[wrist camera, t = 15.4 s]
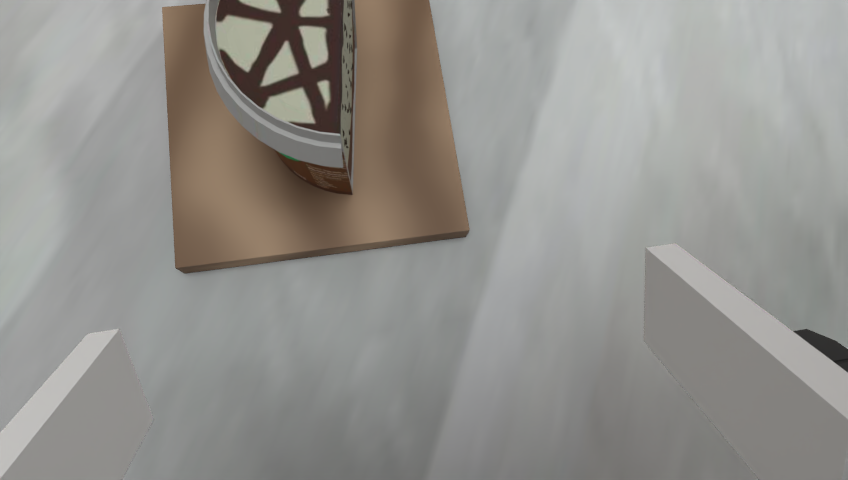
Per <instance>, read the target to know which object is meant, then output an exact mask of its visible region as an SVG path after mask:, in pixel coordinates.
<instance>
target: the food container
mask: <svg viewBox="0 0 848 480" xmlns="http://www.w3.org/2000/svg"><path fill="white" fill-rule="evenodd" d="M204 39H205V47H206V54H207V59H208V65H209V71H210V74H211V77H212V79H213V82H214V85H215V87H216V90H217V92H218V94H219V96H220V97H221V99H222V101H223V102H224V104H225V106H226V107H227V109H228V110H229V111H230V113H231V114H232V115H233V116H234V117H235V118H236V120H237V121H238V122H239V123H240V124H241V126H243V127H244V128H245V129H246V130H247V131H249V132H250V133H251V134H252V135H253V136H255V137H256V138H257V139H258V140H260V141H261V142H263V143H265V144H266V145H268V146H270V147H271V148H273V149H274V150H275V152H276V153H277V155H278V156H279V157H280V159H281V160H282V162H283V163H284V164H285V165H286V166H287V167H288V168H289V169H290V171H292V172H293V173H294V174H295V175H297V176H298V177H299V178H300V179H302V180H303V181H305V182H307V183H309V184H310V185H312V186H315V187H317V188H320V189H322V190H325V191H329V192H333V193H337V194H348V195H353V171H354V137H355V103H356V69H357V36H356V18H355V0H206V5H205V10H204Z"/></svg>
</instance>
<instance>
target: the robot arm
mask: <svg viewBox="0 0 848 480" xmlns="http://www.w3.org/2000/svg"><path fill="white" fill-rule="evenodd" d="M644 342H645V343H646V345H647V346H648V347H649V348H650V349H651V351H652V352H653V353H654V354H655V355H656V357H657V358H658V359H659V360H660V361H661V363H662V364H663V365H664V366H665V367H666V369H667V370H668V371H669V372H670V373H671V375H672V376H673V377H674V378H675V379H676V381H677V382H678V383H679V384H680V385H681V386H682V388H683V389H684V390H685V391H686V392H687V394H688V395H689V396H690V397H691V398H692V400H693V401H694V402H695V403H696V404H697V406H698V407H699V408H700V409H701V410H702V412H703V413H704V414H705V415H706V416H707V418H708V419H709V420H710V421H711V422H712V424H713V425H714V426H715V427H716V428H717V430H718V431H719V432H720V433H721V434H722V436H723V437H724V438H725V439H726V440H727V442H728V443H729V444H730V445H731V446H732V448H733V449H734V450H735V451H736V452H737V454H738V455H739V456H740V457H741V458H742V460H743V461H744V462H745V463H746V464H747V466H748V467H749V468H750V469H751V470H752V471H753V473H754V474H755V475H756V476H757V477H758V479H759V480H848V349H846V348H845V347H844V346H842V345H841V344H839V343H838V342H836V341H834V340H832V339H830V338H827V337H825V336H822V335H820V334H817V333H815V332H813V331H810V330H808V329H804V330H798V331H792V330H790V329H789V328H788V327H786V326H785V325H784V324H782V323H781V322H780V321H778V320H777V319H776V318H774V317H773V316H772V315H770V314H769V313H768V312H766V311H765V310H764V309H762V308H761V307H760V306H758V305H757V304H756V303H754V302H753V301H752V300H750V299H749V298H748V297H746V296H745V295H744V294H742V293H741V292H740V291H738V290H737V289H736V288H734V287H733V286H732V285H730V284H729V283H728V282H727V281H725V280H724V279H723V278H721V277H720V276H719V275H717V274H716V273H715V272H713V271H712V270H711V269H709V268H708V267H707V266H705V265H704V264H703V263H701V262H700V261H699V260H697V259H696V258H695V257H693V256H692V255H691V254H689V253H688V252H687V251H685V250H684V249H683V248H681V247H680V246H679V245H677V244H676V243H672V244H666V245H659V246H653V247H646V253H645V299H644ZM153 421H154V418H153V415H152V413H151V410H150V407H149V405H148V402H147V400H146V397H145V394H144V392H143V389H142V386H141V384H140V381H139V379H138V376H137V373H136V371H135V368H134V365H133V363H132V360H131V358H130V355H129V352H128V350H127V347H126V344H125V342H124V339H123V337H122V334H121V331H120V329H115V330H109V331H102V332H96V333H89V334H87V335H86V336H85V337H84V339H83V340H82V341H81V342H80V343H79V344H78V345H77V347H76V348H75V349H74V350H73V351H72V352H71V353H70V354H69V356H68V357H67V358H66V359H65V360H64V361H63V362H62V364H61V365H60V366H59V367H58V368H57V369H56V370H55V371H54V373H53V374H52V375H51V376H50V377H49V378H48V379H47V380H46V382H45V383H44V384H43V385H42V386H41V387H40V388H39V390H38V391H37V392H36V393H35V394H34V395H33V396H32V397H31V399H30V400H29V401H28V402H27V403H26V404H25V405H24V407H23V408H22V409H21V410H20V411H19V412H18V413H17V414H16V416H15V417H14V418H13V419H12V420H11V421H10V422H9V424H8V425H7V426H6V427H5V428H4V429H3V430H2V431H1V433H0V480H122V479H123V477H124V475H125V473H126V471H127V469H128V467H129V466H130V464H131V462H132V460H133V458H134V456H135V454H136V452H137V451H138V449H139V447H140V445H141V443H142V441H143V439H144V437H145V436H146V434H147V432H148V430H149V428H150V426H151V424H152V422H153Z"/></svg>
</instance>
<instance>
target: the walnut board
mask: <svg viewBox="0 0 848 480" xmlns="http://www.w3.org/2000/svg"><path fill="white" fill-rule="evenodd" d="M205 5H206V4H196V5H184V6H172V7H162V13H163V33H164V53H165V72H166V92H167V112H168V131H169V151H170V170H171V190H172V210H173V229H174V249H175V268H176V269H178V270H180V271H181V272H183V273H192V272H199V271H207V270H215V269H222V268H230V267H238V266H245V265H253V264H261V263H268V262H276V261H284V260H291V259H299V258H307V257H314V256H322V255H330V254H337V253H345V252H353V251H360V250H368V249H376V248H383V247H391V246H398V245H406V244H414V243H421V242H429V241H437V240H444V239H452V238H460V237H466V235H467V234H468V232H469V224H468V218H467V213H466V207H465V201H464V196H463V190H462V184H461V179H460V173H459V167H458V162H457V156H456V150H455V145H454V139H453V133H452V128H451V122H450V116H449V111H448V105H447V99H446V94H445V88H444V82H443V77H442V71H441V65H440V60H439V54H438V48H437V43H436V37H435V31H434V26H433V20H432V14H431V9H430V3H429V0H355V18H356V36H357V69H356V103H355V137H354V171H353V195H348V194H337V193H333V192H329V191H325V190H322V189H320V188H317V187H315V186H312V185H310V184H309V183H307V182H305V181H303V180H302V179H300V178H299V177H298V176H297V175H295V174H294V173H293V172H292V171H290V169H289V168H288V167H287V166H286V165H285V164H284V163H283V162H282V160H281V159H280V157H279V156H278V155H277V153H276V152H275V150H274V149H273V148H271V147H270V146H268V145H266V144H265V143H263V142H261V141H260V140H258V139H257V138H256V137H255V136H253V135H252V134H251V133H250V132H249V131H247V130H246V129H245V128H244V127H243V126H241V124H240V123H239V122H238V121H237V120H236V118H235V117H234V116H233V115H232V114H231V113H230V111H229V110H228V109H227V107H226V106H225V104H224V102H223V101H222V99H221V97H220V96H219V94H218V92H217V90H216V87H215V85H214V82H213V79H212V77H211V74H210V71H209V65H208V59H207V54H206V47H205V39H204V10H205Z"/></svg>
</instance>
